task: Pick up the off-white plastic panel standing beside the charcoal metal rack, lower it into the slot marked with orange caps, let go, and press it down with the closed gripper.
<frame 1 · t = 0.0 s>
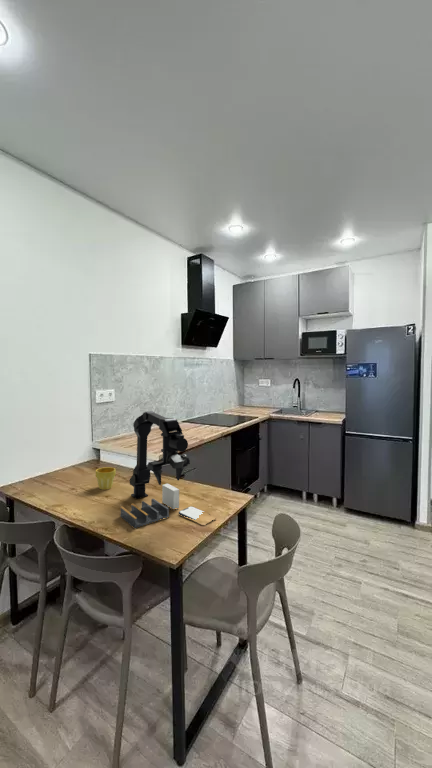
hand: (169, 482, 140), 15 cm above the table, tool pointing down, fingers open, 9 cm apart
phone case: (197, 518, 140), on the table
plant pot: (105, 487, 173), on the table
panel: (170, 505, 151), on the table
rack: (144, 516, 139), on the table
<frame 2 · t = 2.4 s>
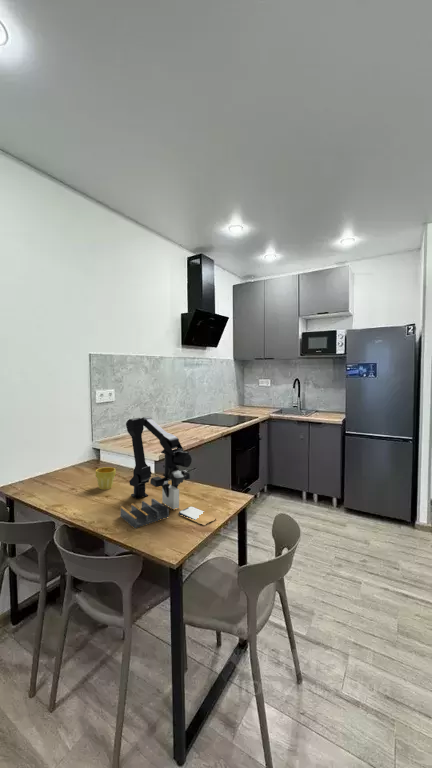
hand: (170, 496, 151), 5 cm above the table, tool pointing down, fingers closed on panel, 3 cm apart
panel: (170, 505, 151), on the table, touching gripper
everything else where it was.
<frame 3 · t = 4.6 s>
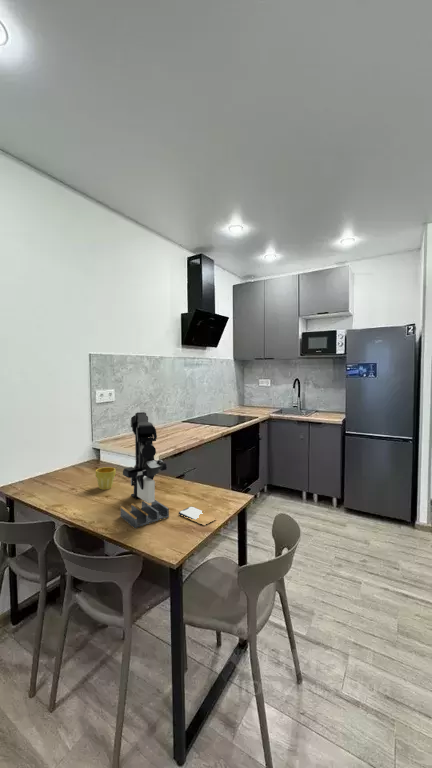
hand: (145, 488, 139), 12 cm above the table, tool pointing down, fingers closed on panel, 3 cm apart
panel: (145, 498, 139), point 8 cm above the table, touching gripper
everything else where it was.
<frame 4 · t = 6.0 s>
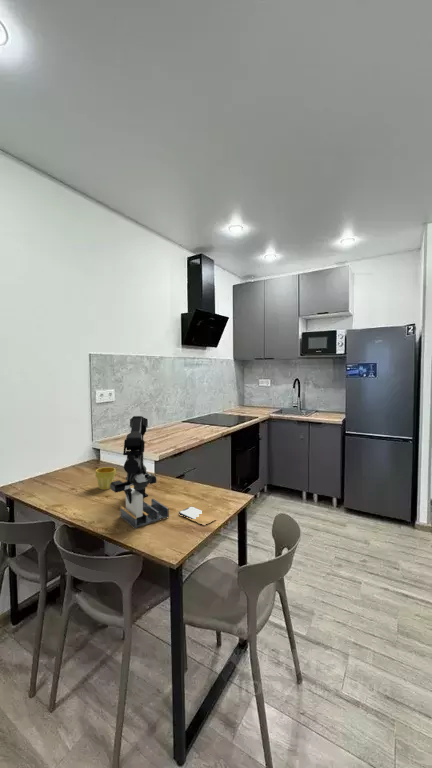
hand: (134, 502, 136), 8 cm above the table, tool pointing down, fingers closed on panel, 3 cm apart
panel: (134, 512, 136), point 3 cm above the table, touching gripper
everything else where it was.
when the fingers open (6 cm above the table, at t = 6.9 s): panel stays where it is, resting on rack.
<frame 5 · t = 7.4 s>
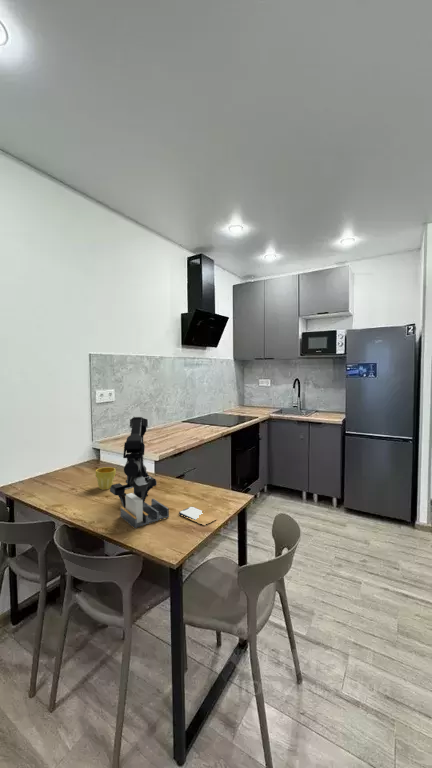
hand: (134, 505, 136), 6 cm above the table, tool pointing down, fingers open, 8 cm apart
panel: (133, 518, 136), point 1 cm above the table, touching rack
everything else where it was.
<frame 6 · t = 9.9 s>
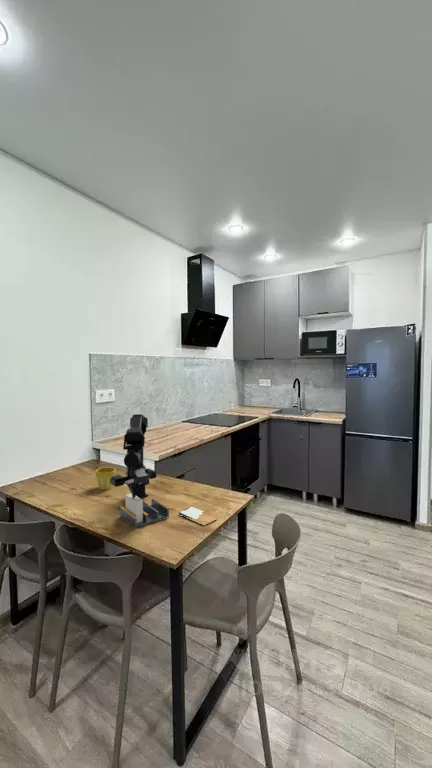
hand: (133, 497, 135), 10 cm above the table, tool pointing down, fingers closed, pressing on panel
panel: (133, 518, 136), point 1 cm above the table, touching gripper, rack
everything else where it was.
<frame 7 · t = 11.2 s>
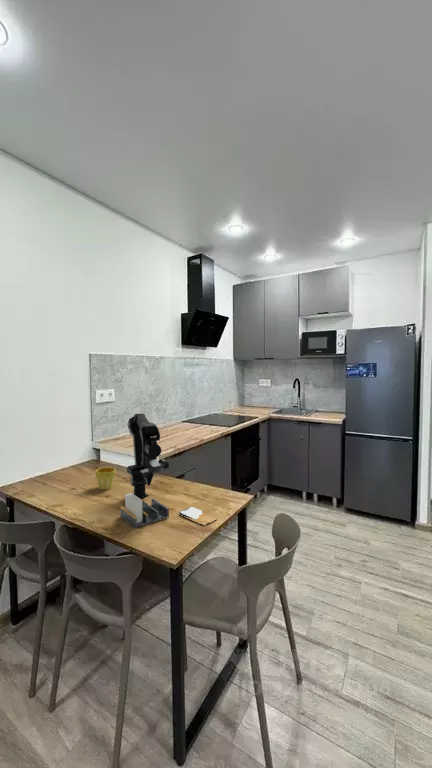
hand: (148, 485, 146), 11 cm above the table, tool pointing down, fingers closed
panel: (133, 517, 136), point 1 cm above the table, touching rack
everything else where it was.
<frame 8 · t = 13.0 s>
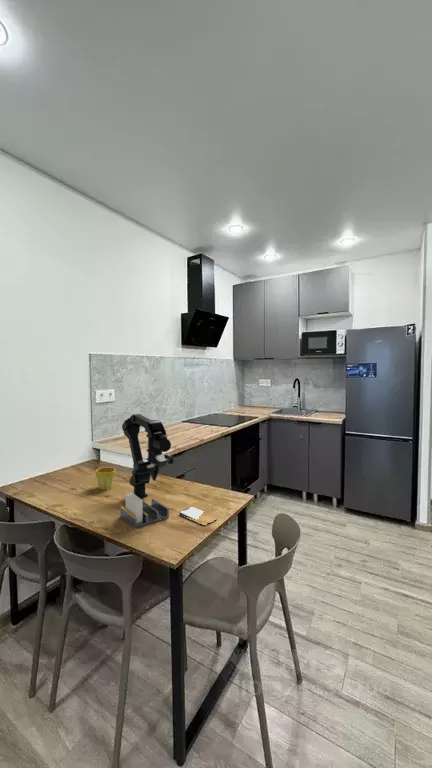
hand: (154, 480, 150), 12 cm above the table, tool pointing down, fingers closed
nothing on the table moved.
at the end: panel 0.1 cm from the target spot on the rack, point 1.0 cm above the rack's base; panel tilted 0°; the gripper is holding nothing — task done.
